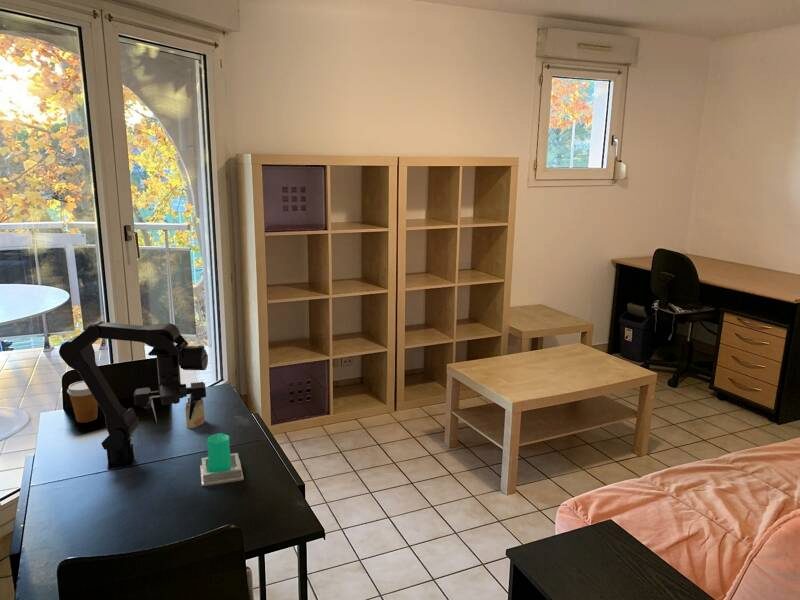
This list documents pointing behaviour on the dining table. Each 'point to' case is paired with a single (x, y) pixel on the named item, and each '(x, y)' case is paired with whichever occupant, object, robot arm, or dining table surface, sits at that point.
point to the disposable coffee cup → (83, 402)
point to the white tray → (221, 472)
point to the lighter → (195, 414)
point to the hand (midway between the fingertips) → (172, 421)
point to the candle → (218, 452)
